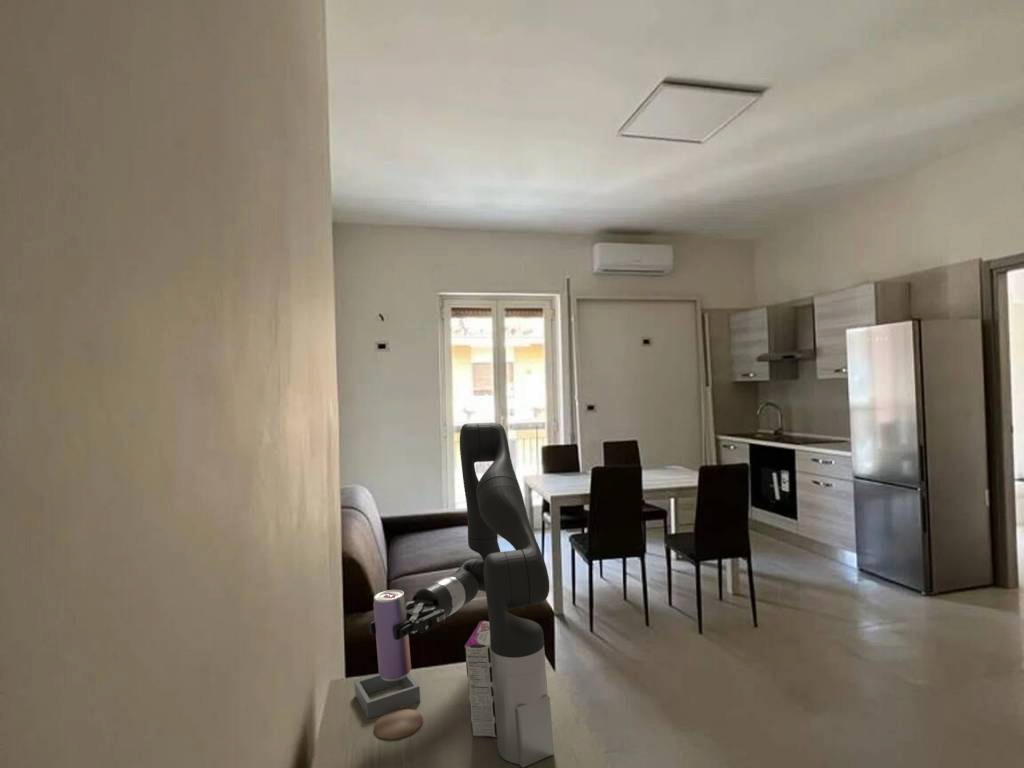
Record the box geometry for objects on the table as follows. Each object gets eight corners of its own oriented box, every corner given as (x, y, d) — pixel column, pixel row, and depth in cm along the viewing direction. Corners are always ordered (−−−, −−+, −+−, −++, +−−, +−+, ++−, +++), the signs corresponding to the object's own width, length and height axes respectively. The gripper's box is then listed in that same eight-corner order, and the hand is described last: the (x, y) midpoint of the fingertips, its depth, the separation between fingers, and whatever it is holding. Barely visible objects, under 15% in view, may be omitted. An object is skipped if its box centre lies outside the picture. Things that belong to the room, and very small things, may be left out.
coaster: (429, 728, 104) (429, 725, 104) (381, 745, 99) (381, 742, 100) (413, 706, 112) (413, 704, 112) (368, 722, 107) (368, 719, 107)
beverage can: (395, 685, 102) (388, 602, 102) (372, 678, 105) (366, 598, 106) (417, 670, 107) (411, 591, 107) (395, 664, 110) (389, 587, 111)
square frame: (420, 701, 114) (419, 686, 114) (368, 718, 109) (367, 703, 109) (404, 680, 123) (403, 666, 123) (355, 695, 118) (354, 681, 118)
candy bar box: (485, 703, 111) (479, 619, 111) (510, 704, 110) (504, 620, 110) (470, 737, 100) (463, 644, 100) (497, 739, 99) (490, 644, 100)
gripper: (412, 578, 122) (353, 606, 108) (465, 585, 115) (410, 617, 100) (415, 613, 122) (356, 645, 108) (468, 622, 115) (413, 659, 100)
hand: (382, 631), depth 104 cm, fingers closed on beverage can, 5 cm apart
